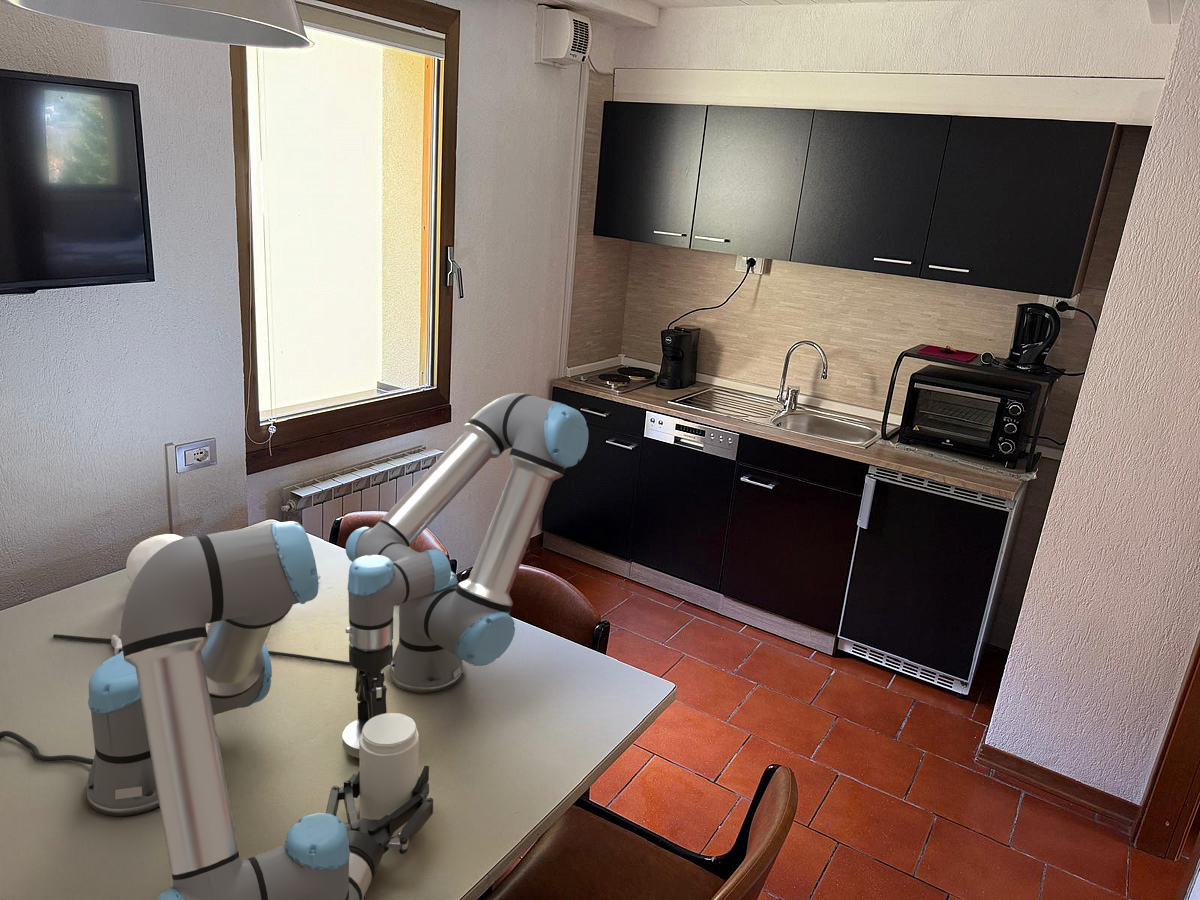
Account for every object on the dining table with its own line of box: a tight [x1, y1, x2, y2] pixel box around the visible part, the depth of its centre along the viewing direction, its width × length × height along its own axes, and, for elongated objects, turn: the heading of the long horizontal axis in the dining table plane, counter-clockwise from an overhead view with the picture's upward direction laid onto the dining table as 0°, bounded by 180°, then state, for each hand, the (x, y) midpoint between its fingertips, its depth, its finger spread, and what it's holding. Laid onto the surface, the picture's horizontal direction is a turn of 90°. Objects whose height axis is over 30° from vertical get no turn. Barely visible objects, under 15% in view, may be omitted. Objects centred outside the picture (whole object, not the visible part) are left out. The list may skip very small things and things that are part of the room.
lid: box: [341, 717, 369, 759], centre depth 156 cm, size 10×10×2 cm
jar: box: [358, 712, 420, 839], centre depth 139 cm, size 9×9×17 cm
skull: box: [125, 533, 184, 585], centre depth 202 cm, size 13×22×16 cm, turn 73°
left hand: (397, 768), depth 144 cm, fingers closed on jar, 9 cm apart
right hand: (370, 749), depth 157 cm, fingers closed on lid, 10 cm apart
